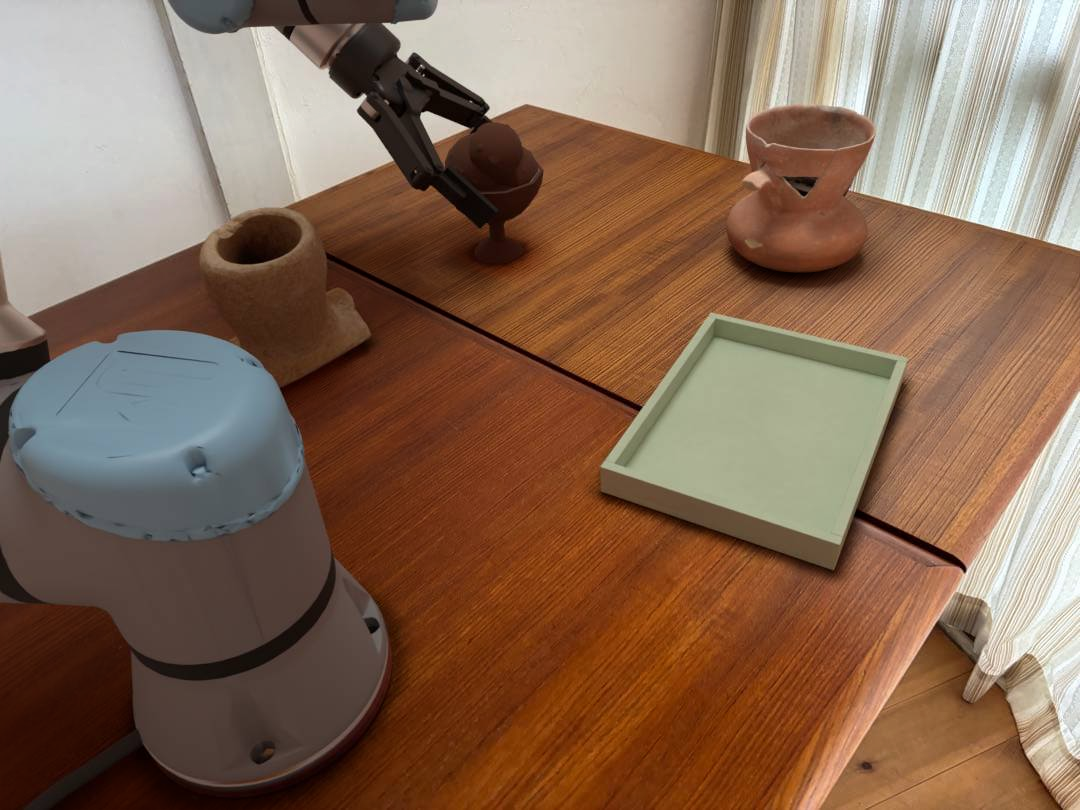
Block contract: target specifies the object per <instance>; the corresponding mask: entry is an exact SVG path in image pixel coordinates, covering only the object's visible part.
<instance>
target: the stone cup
mask: <svg viewBox="0 0 1080 810" xmlns="http://www.w3.org/2000/svg"><path fill="white" fill-rule="evenodd" d="M327 259H328V258H327V254H326V249H325V247H324V244H323V242H322V239H321V237H320V236H319V233H318V231H317V229H316V228H315V227H314V225H313V224H312V221H310V220H309V219H308V218H307V217H306V216H305V215H303V213H301V212H298V211H296V210H293V209H290V208H284V207H269V206H267V207H258V208H254V209H249V210H246V211H243V212H241V213H239V214H236V215H235V216H233V217H232V218H231V219H229V220H228V221H227V222H225V223H224V224H222V225H221V226H219V227H218V228H216V229H214V230H213V231H211V232H210V233H209V234H208V235H207V237H206V239H205V240H204V242H203V244H202V246H201V248H200V251H199V255H198V260H199V261H198V262H199V271H200V275H201V278H202V283H203V284H204V289H205V291H206V294H207V296H208V298H209V299H208V300H209V301H210V302H211V304H212V305H213V308H214V309H215V311H216V312H217V313H218V315H219V316H220V317H221V318H222V320H223V321H224V322H225V323H226V325H227V326H228V327H229V328H230V329H231V330H232V331H233V333H234V335H235V336H234V337H232V338H231V339H229V340H228V341H227V342H230V343H232V344H234V345H236V346H238V347H240V348H242V349H243V350H245V351H247V352H248V353H250V354H251V355H252V356H254V357H255V358H256V359H258V360H259V361H260V362H261V364H262V365H263V367H264V369H265V370H266V371H267V372H269V373H270V374H271V375H272V376H273V378H274V379H275V381H276V382H277V384H278V386H279V388H283V387H287V386H288V385H291V384H292V383H295V382H297V381H299V380H300V379H302V378H304V377H306V376H307V375H309V374H311V373H313V372H315V371H317V370H319V369H321V368H322V367H324V366H325V365H327V364H329V363H331V362H332V361H334V360H336V359H337V358H340V357H341V356H343V355H345V354H347V353H348V352H349V351H351V350H353V349H355V348H356V347H358V346H359V345H361V344H363V343H364V342H366V341H368V340H369V339H371V337H372V333H371V330H370V328H369V326H368V324H367V323H366V321H365V320H364V319H363V318H362V316H361V315H360V314H359V312H358V311H357V310H356V304H355V302H354V298H353V297H352V296H351V294H350V293H349V292H348V291H347V290H345V288H341V287H335V288H332V289H330V290H328V291H327V274H328V261H327Z"/></svg>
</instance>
